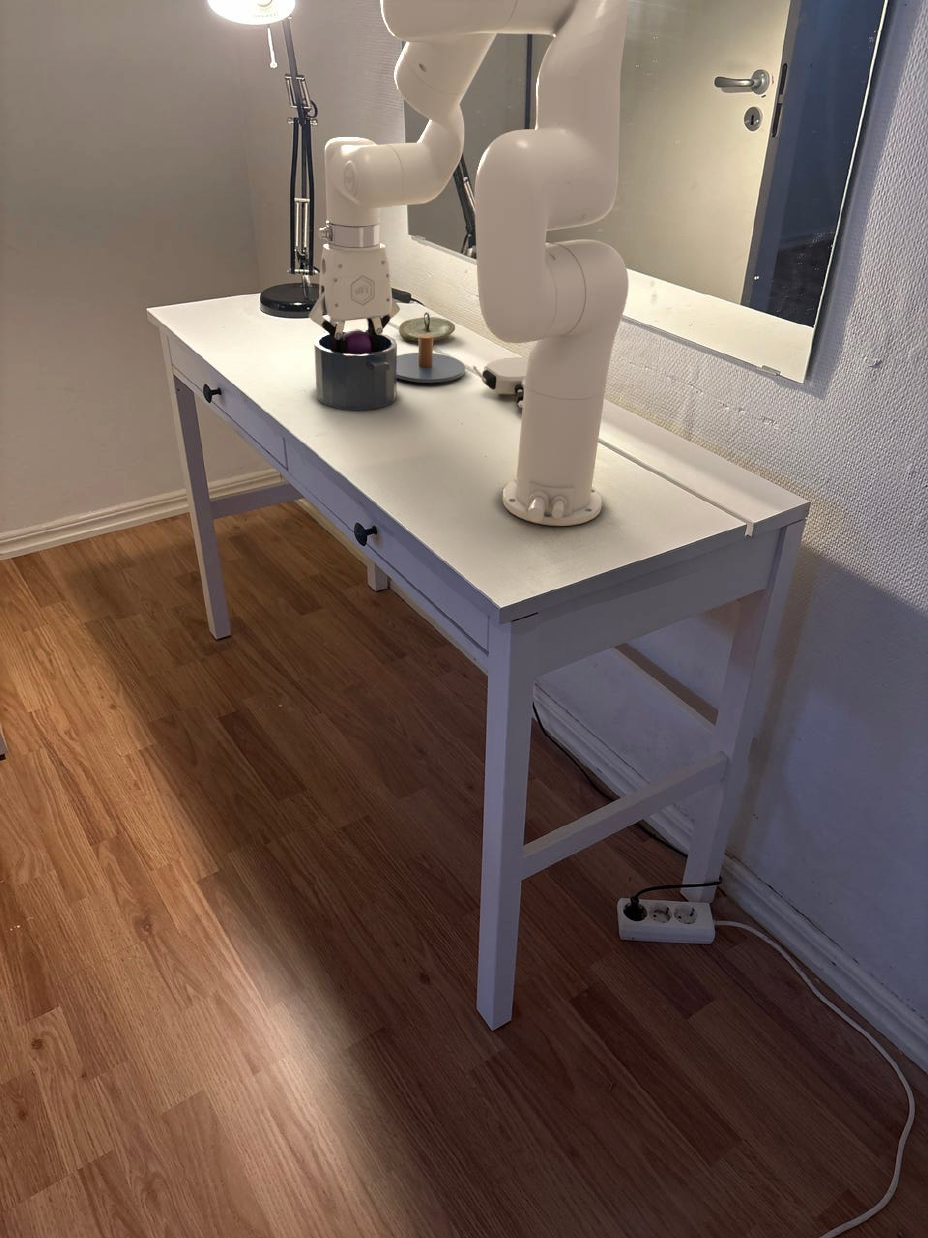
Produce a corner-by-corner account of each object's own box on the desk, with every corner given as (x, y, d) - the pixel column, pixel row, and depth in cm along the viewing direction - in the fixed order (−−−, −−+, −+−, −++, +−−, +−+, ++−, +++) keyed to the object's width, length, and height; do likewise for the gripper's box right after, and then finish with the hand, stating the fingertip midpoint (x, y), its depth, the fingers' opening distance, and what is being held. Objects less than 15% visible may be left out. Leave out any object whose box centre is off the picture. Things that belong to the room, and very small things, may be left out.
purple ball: (367, 368, 140) (366, 336, 137) (335, 365, 141) (334, 332, 138) (375, 358, 144) (375, 326, 141) (344, 355, 145) (344, 323, 142)
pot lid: (409, 391, 148) (409, 352, 145) (371, 365, 157) (371, 329, 154) (479, 379, 154) (481, 342, 151) (439, 355, 164) (440, 320, 160)
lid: (458, 340, 176) (459, 313, 174) (449, 342, 166) (450, 313, 165) (404, 337, 177) (405, 310, 175) (392, 339, 168) (393, 310, 166)
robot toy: (582, 413, 146) (531, 376, 156) (587, 386, 143) (534, 350, 153) (517, 425, 140) (468, 386, 150) (521, 397, 138) (470, 359, 148)
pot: (345, 421, 136) (343, 365, 132) (297, 383, 149) (294, 330, 144) (418, 408, 142) (419, 354, 137) (366, 372, 154) (366, 321, 150)
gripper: (307, 244, 126) (313, 375, 136) (418, 237, 133) (415, 361, 143) (288, 233, 131) (295, 359, 141) (395, 226, 138) (394, 347, 148)
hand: (356, 359), depth 142 cm, fingers closed on purple ball, 4 cm apart
